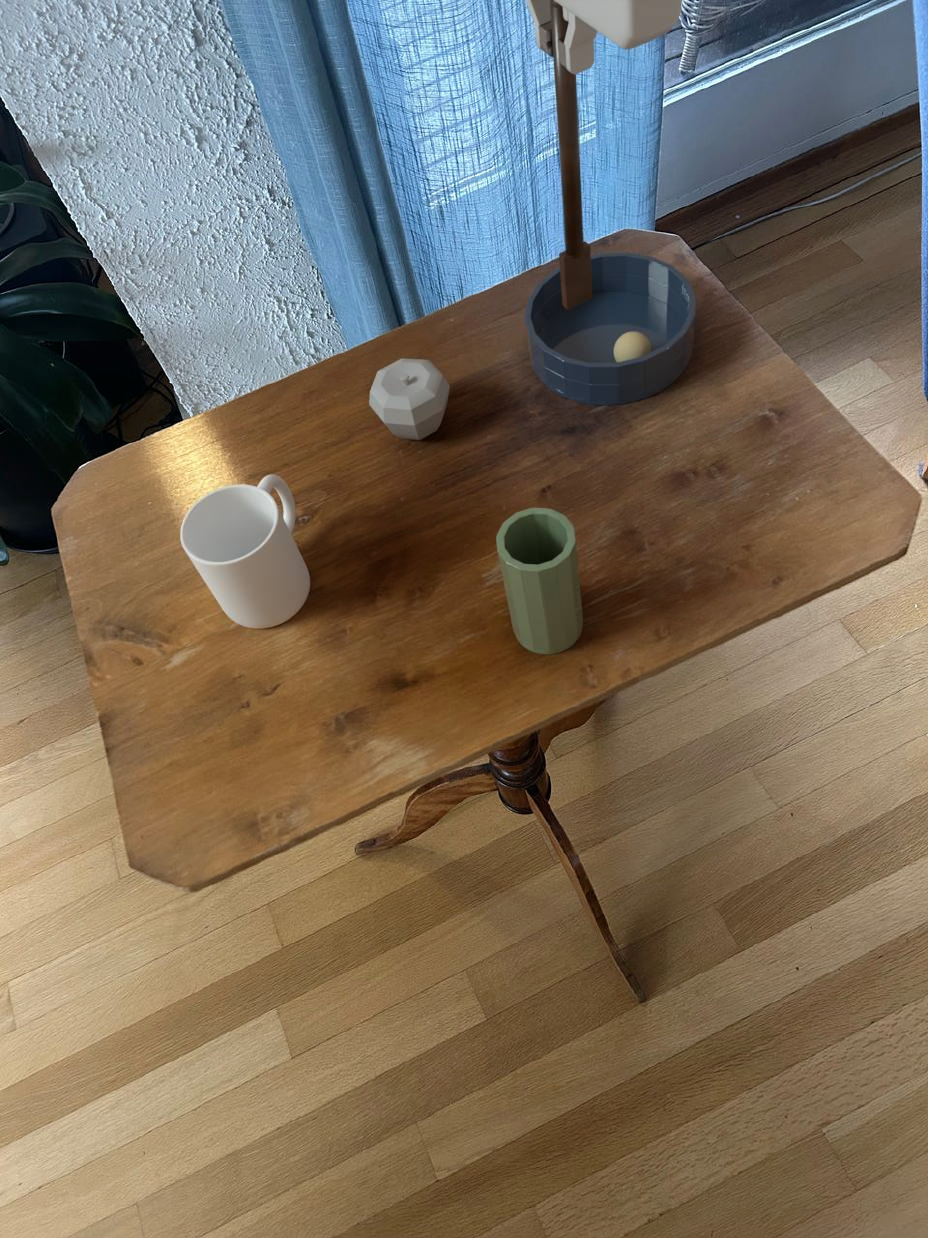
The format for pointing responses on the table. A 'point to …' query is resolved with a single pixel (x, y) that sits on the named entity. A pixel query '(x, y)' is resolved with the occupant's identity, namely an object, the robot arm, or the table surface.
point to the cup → (248, 552)
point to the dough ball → (631, 346)
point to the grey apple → (410, 398)
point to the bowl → (612, 330)
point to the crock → (541, 579)
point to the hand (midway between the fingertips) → (565, 58)
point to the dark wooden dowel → (570, 177)
